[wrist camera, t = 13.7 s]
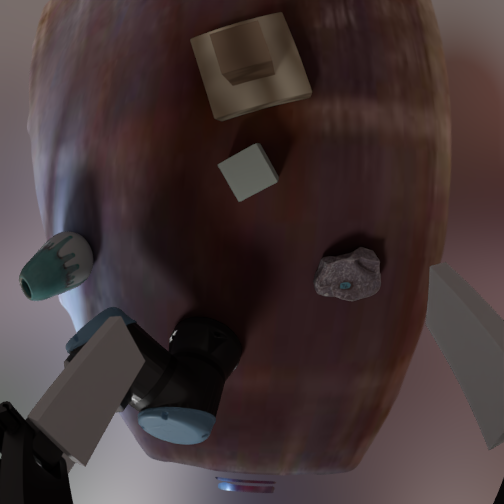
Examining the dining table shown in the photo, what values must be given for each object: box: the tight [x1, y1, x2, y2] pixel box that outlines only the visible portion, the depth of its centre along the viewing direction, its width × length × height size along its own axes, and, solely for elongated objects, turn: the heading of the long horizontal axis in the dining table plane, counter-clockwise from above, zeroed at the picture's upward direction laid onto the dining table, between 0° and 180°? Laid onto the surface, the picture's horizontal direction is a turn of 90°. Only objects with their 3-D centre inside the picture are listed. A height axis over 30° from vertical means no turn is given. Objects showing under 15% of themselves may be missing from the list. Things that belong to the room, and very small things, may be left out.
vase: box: [19, 231, 93, 301], centre depth 44 cm, size 12×12×18 cm
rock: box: [314, 247, 381, 301], centre depth 44 cm, size 8×11×5 cm
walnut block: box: [209, 20, 275, 86], centre depth 29 cm, size 6×6×7 cm
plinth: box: [190, 12, 312, 121], centre depth 34 cm, size 14×14×5 cm
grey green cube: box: [218, 143, 279, 202], centre depth 39 cm, size 6×6×6 cm
